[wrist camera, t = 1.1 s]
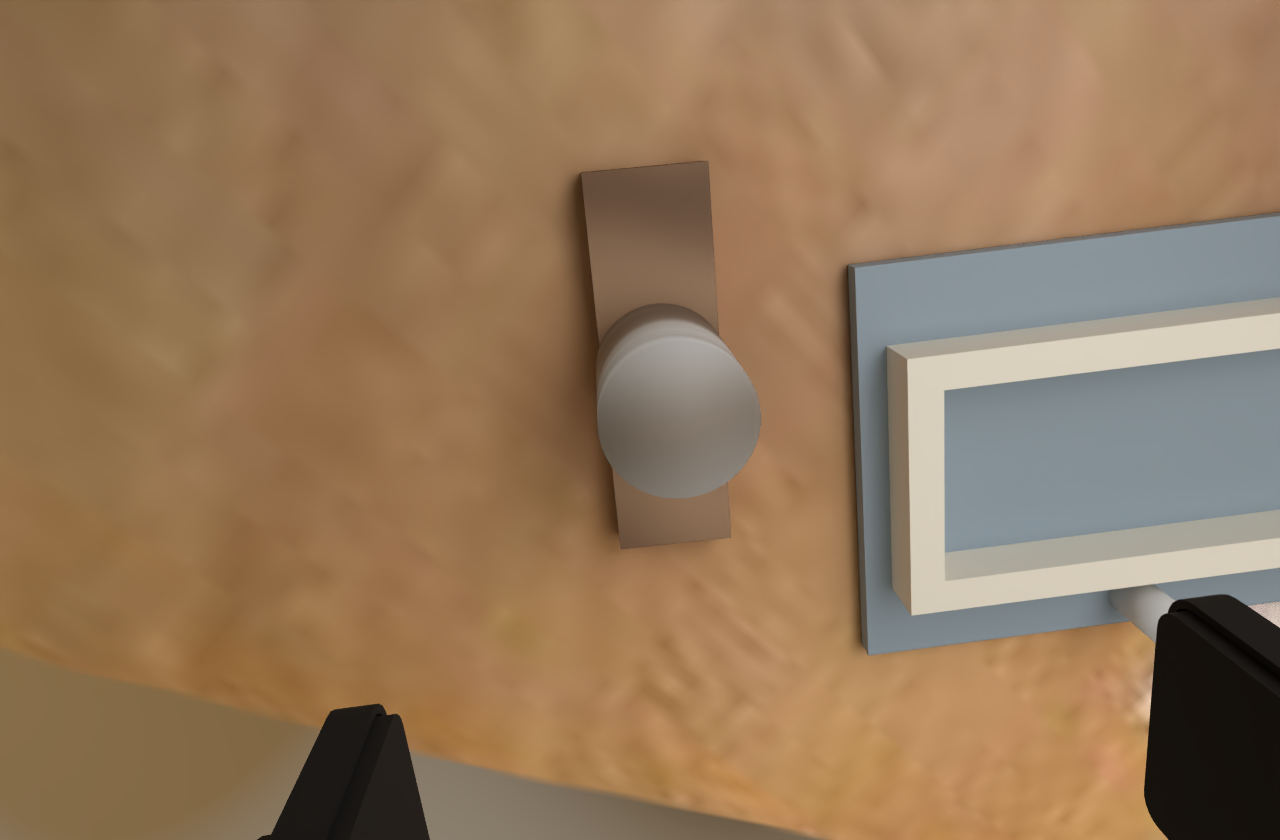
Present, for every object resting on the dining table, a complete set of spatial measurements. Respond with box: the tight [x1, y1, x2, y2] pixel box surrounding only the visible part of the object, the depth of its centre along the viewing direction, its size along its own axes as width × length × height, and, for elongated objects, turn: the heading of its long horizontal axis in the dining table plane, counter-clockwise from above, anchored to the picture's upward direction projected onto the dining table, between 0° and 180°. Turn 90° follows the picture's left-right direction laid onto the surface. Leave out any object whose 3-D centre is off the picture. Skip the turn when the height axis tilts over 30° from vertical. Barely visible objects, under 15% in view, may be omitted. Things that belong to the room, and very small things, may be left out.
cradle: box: [848, 212, 1280, 655], centre depth 30 cm, size 15×20×3 cm
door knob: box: [581, 161, 761, 549], centre depth 26 cm, size 13×4×8 cm, turn 5°
